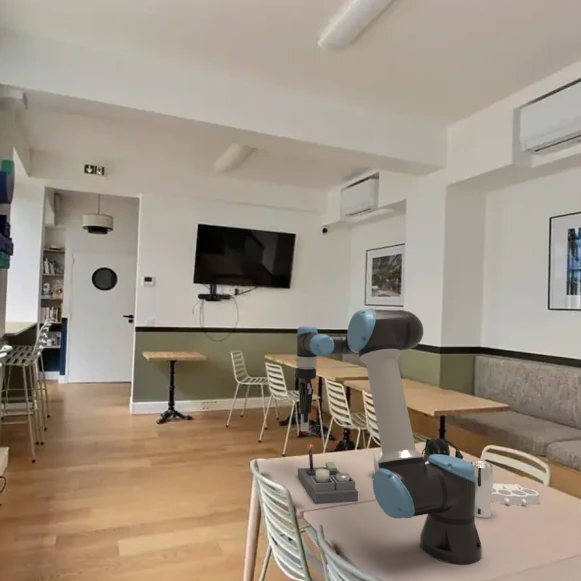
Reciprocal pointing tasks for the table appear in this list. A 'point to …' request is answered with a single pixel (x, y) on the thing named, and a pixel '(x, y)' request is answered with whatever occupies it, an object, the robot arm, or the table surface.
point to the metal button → (342, 477)
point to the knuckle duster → (513, 494)
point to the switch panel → (327, 487)
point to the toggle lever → (310, 455)
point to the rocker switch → (331, 466)
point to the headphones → (439, 448)
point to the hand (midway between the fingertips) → (304, 430)
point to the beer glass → (483, 488)
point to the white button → (322, 475)
